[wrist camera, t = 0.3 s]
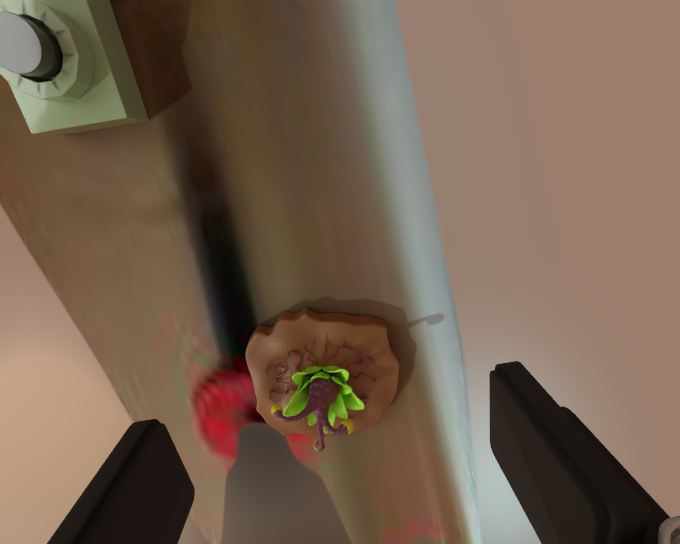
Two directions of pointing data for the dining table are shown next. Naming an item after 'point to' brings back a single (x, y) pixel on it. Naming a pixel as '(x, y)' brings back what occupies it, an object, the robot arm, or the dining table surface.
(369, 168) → the dining table surface
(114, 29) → the button base
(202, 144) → the dining table surface
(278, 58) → the dining table surface
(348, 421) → the plant
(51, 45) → the dark round button cap
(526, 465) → the robot arm
